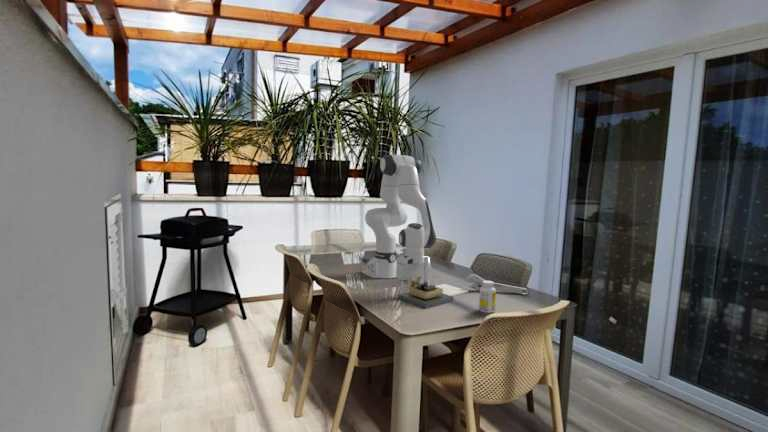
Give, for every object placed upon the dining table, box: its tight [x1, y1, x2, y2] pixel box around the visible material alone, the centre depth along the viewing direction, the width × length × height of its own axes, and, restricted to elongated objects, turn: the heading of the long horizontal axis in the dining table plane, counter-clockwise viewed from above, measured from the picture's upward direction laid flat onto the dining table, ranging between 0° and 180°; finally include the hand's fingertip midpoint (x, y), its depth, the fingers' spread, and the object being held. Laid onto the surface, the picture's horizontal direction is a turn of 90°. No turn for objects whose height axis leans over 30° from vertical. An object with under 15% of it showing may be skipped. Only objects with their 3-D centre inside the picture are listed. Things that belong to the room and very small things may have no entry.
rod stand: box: [398, 256, 455, 309], centre depth 194 cm, size 18×18×20 cm
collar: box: [407, 278, 443, 299], centre depth 196 cm, size 16×11×5 cm
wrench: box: [466, 273, 529, 295], centre depth 210 cm, size 8×2×30 cm
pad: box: [434, 283, 469, 297], centre depth 209 cm, size 16×16×1 cm
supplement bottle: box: [478, 280, 497, 314], centre depth 180 cm, size 7×7×13 cm
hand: (413, 286), depth 201 cm, fingers closed on collar, 3 cm apart
